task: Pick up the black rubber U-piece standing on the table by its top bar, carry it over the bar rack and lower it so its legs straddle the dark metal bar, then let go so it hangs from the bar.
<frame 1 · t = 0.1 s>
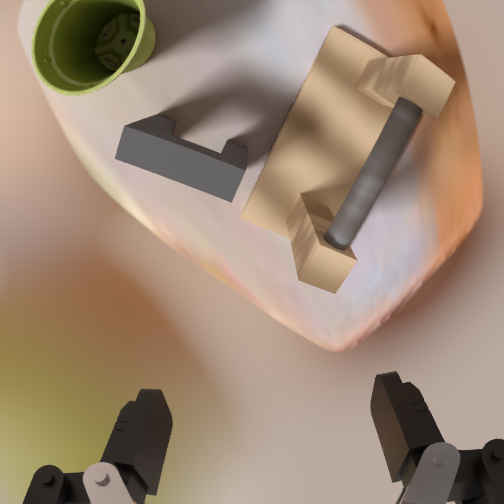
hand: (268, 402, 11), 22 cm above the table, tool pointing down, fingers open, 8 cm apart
bar rack: (338, 146, 28), on the table
rubber u: (196, 142, 28), on the table
plant pot: (127, 42, 23), on the table
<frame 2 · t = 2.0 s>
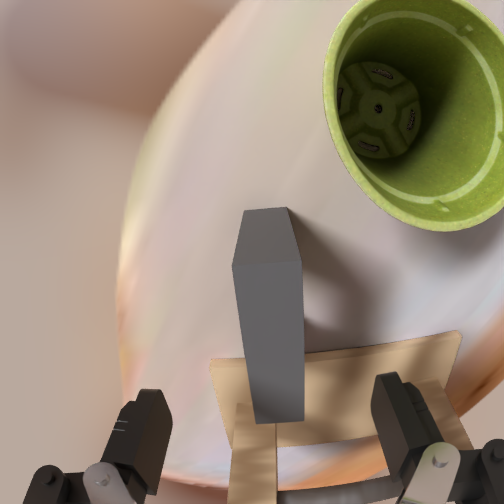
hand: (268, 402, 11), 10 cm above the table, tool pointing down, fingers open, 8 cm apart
bar rack: (339, 397, 25), on the table
rubber u: (271, 277, 21), on the table
plant pot: (373, 111, 17), on the table
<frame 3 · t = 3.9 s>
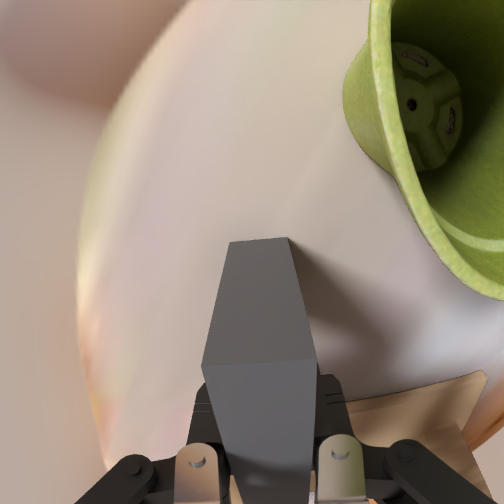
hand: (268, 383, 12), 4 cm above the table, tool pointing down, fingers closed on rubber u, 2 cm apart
bar rack: (345, 447, 20), on the table
rubber u: (266, 326, 16), on the table, touching gripper
plant pot: (404, 107, 12), on the table
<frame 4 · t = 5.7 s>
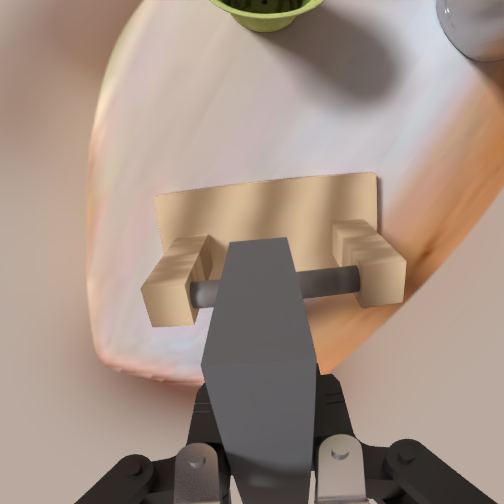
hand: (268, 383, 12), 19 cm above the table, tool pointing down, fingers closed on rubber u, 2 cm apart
bar rack: (270, 239, 30), on the table
rubber u: (266, 325, 16), point 15 cm above the table, touching gripper
plant pot: (264, 6, 22), on the table
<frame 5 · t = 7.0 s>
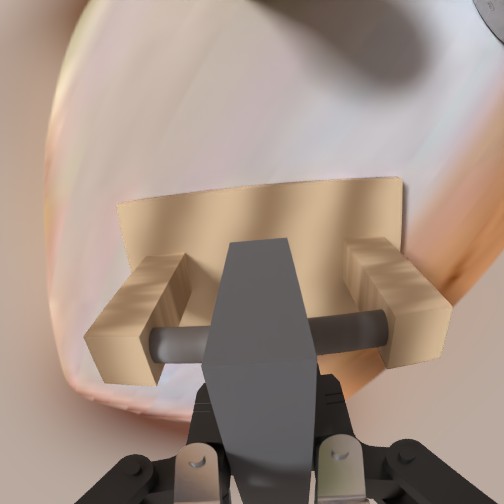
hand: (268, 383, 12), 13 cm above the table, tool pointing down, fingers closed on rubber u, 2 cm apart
bar rack: (265, 260, 24), on the table
rubber u: (266, 326, 16), point 8 cm above the table, touching gripper
when the fingers open (12 cm above the table, at t = 7.8 s): rubber u drops 3 cm, resting on bar rack.
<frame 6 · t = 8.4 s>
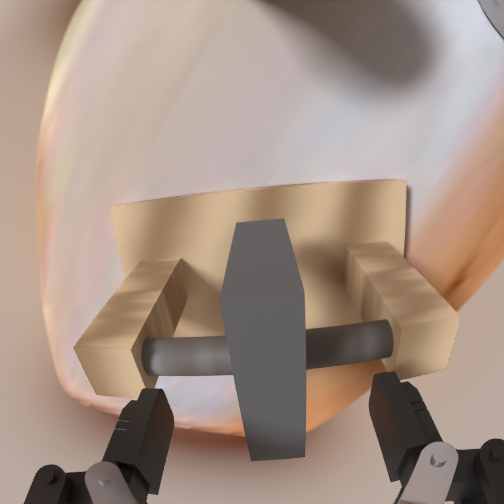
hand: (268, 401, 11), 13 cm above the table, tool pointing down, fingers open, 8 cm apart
bar rack: (263, 265, 23), on the table
rubber u: (267, 296, 18), point 4 cm above the table, touching bar rack
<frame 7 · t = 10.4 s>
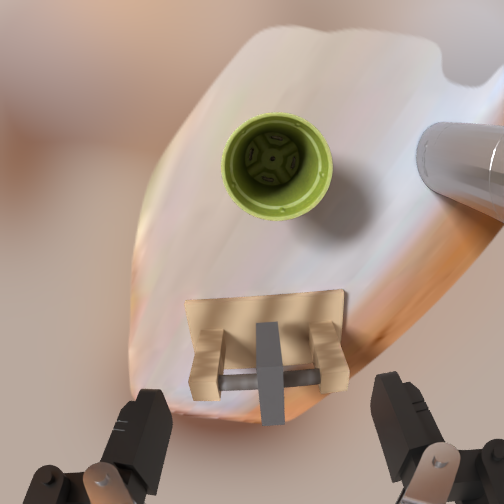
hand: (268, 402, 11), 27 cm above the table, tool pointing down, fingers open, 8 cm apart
bar rack: (266, 331, 42), on the table
rubber u: (268, 352, 38), point 4 cm above the table, touching bar rack
plant pot: (271, 159, 34), on the table
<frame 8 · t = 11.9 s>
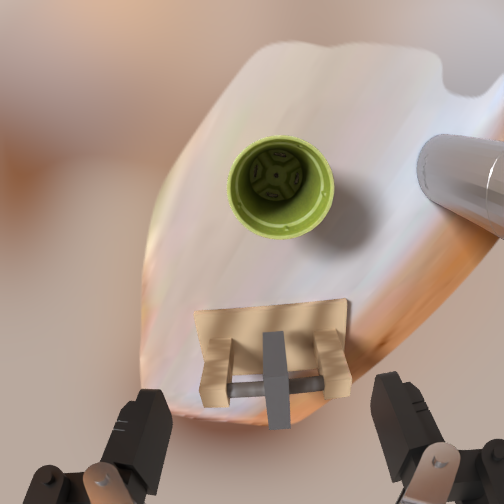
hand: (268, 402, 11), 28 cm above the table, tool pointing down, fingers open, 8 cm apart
bar rack: (272, 339, 44), on the table
rubber u: (275, 359, 39), point 4 cm above the table, touching bar rack
plant pot: (275, 175, 36), on the table
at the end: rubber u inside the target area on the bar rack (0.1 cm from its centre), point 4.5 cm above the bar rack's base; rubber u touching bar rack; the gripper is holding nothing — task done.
